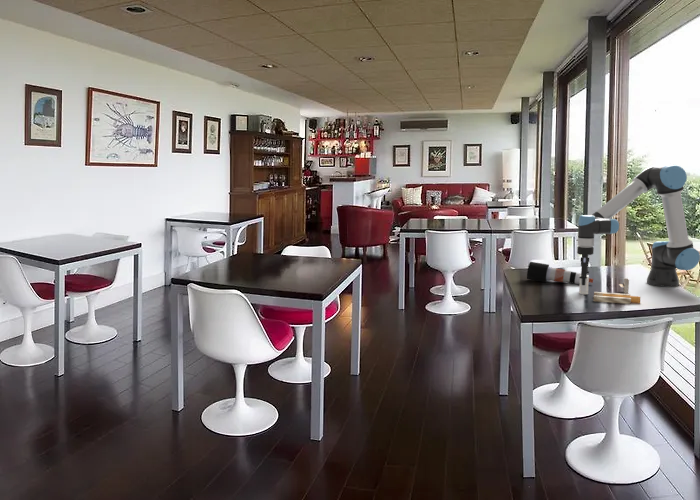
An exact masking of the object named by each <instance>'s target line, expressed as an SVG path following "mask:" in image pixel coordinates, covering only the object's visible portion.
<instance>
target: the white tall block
mask: <svg viewBox="0 0 700 500" xmlns="http://www.w3.org/2000/svg"><path fill="white" fill-rule="evenodd" d="M580 277H581V275H580ZM589 278H590V275H589V274H588V275H587V284H586V292H584V291H580V285H581V278H580V284H579V289H578V290H579V291H578V292H579V295H589V283H590V282H589Z"/></svg>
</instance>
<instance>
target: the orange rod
mask: <svg viewBox="0 0 700 500" xmlns="http://www.w3.org/2000/svg"><path fill="white" fill-rule="evenodd" d="M603 296H610V297H624V298H631V304H640V303H641V296H635V295H630V296H624V295H610V294H603Z"/></svg>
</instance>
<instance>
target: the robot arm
mask: <svg viewBox="0 0 700 500" xmlns="http://www.w3.org/2000/svg"><path fill="white" fill-rule="evenodd" d="M687 179H688V177H687V173H686V171H685V169H684V168H683V167H681V165H676V164H671V163H670V164H654V165H651V166H649V167H647V168H645V169H644V170H642V171H641V172H640V173H638V174H637V175H636V176H635V177H634V178H632V179H631V182H630V183H628V185H627V186H626V187H624V188H623V189H622V190H620V192H618V193H616V195H614V196H613V197H611V199H610V200H608V201H607V202H606V203H604V204H603V205H602V206H601V207H599V208H598V209H597V210H596V211H594V213H592V214H584V215H583V214H581V215H580V216H579V217H578V221H577V222H578V223H577V226H578V227H577V239H576V242H577V248H576V249H577V251H576V253H577V255H581V257H580V267H581V272H580V273H581V277H579V278H581V285H580V284H579V287H580V291H584V292H586V284H587V275H589V274H590V271H589V270H588V267H589V263H590V257H589V256H592V255H594V246H595V235H612V234H616V233H618V232H619V229H620V224H619V223H620V222H619V221H618V220H617V219H616V218H613V217H615V215H617V214H618V213H619V212H621V211H622V210H623V209H624V208H625V207H627V206H628V205H630V204H631V203H632V202H634V200H636V199H637V198H638V197H639V196H640V195H642V194H643V193H644V194H646V193H648V192H649V191H650V190H652V189H656V194H657V195H658V196H660V197H661V201H662V208H663V213H664V220H665V224H666V230H667V235H668V236H667V237H668V240H667V241H665V240H664V241H654V242H653V243H652V248H651V267H650V271H649V273H648V275H647V277H646V283H647V284H648V285H651V286H657V287H658V286H659V287H679V285H680V281H679V277H678V273H677V269H678V270H680V271H689V270H690V271H691V270H693V269H694V268H695V267H696V266H697V265H698V264H699V262H700V252H699V251H698V250H697V249H696V248H694V244H693V241H692V240H691V239H690V238H689V235H688V229H687V223H686V217H685V211H684V210H685V209H684V205H683V199H682V192H683V191H684V189H685V187H684V186H685V184H686V182H687Z"/></svg>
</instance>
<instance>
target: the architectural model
mask: <svg viewBox="0 0 700 500" xmlns="http://www.w3.org/2000/svg"><path fill="white" fill-rule="evenodd" d="M618 286H619V287H620V288H623V294H629V289H630V279H629V278H628V277H626V278H625V277H624V278H623V282H622V283H619V284H618Z"/></svg>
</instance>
